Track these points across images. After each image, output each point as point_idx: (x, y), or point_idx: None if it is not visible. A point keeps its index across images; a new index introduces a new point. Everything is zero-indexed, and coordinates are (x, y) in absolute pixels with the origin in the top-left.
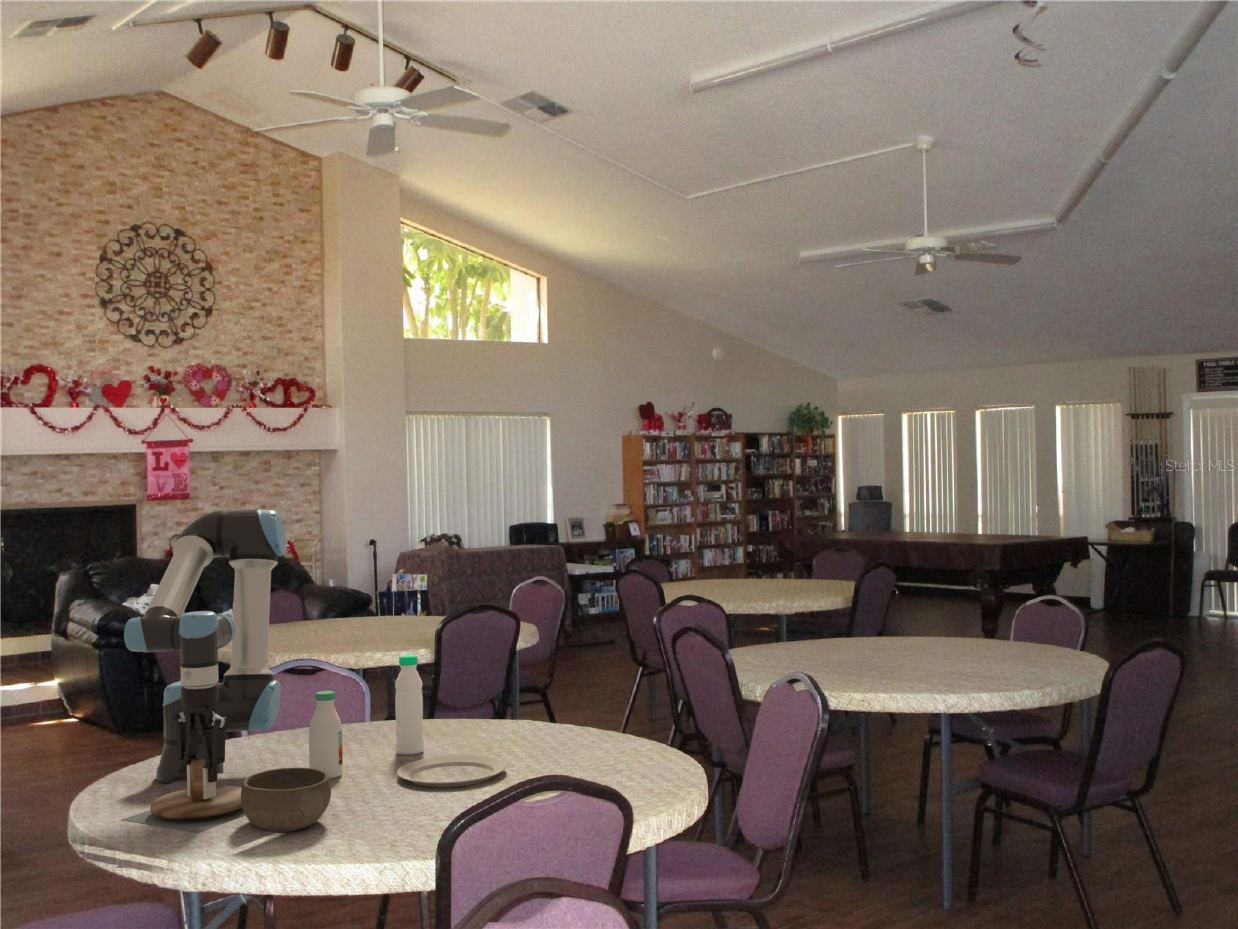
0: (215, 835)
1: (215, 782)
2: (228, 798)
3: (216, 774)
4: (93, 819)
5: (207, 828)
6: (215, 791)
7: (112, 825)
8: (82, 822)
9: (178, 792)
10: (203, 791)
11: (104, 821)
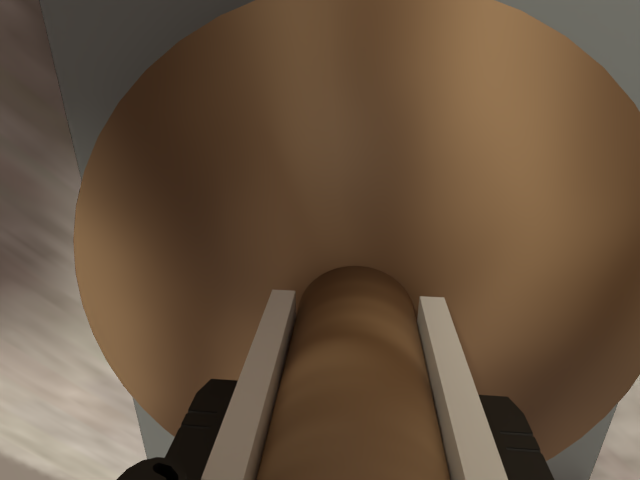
0: (630, 446)
1: (465, 361)
2: (519, 254)
3: (540, 458)
4: (9, 427)
5: (592, 460)
6: (449, 317)
7: (138, 455)
8: (17, 457)
9: (106, 268)
10: None
11: (66, 433)
